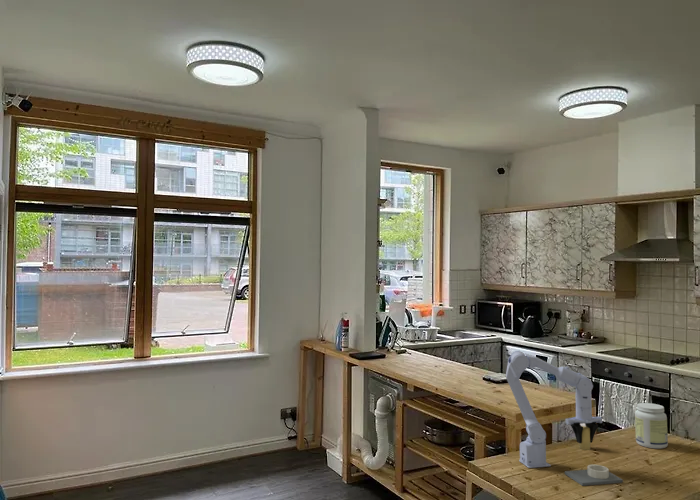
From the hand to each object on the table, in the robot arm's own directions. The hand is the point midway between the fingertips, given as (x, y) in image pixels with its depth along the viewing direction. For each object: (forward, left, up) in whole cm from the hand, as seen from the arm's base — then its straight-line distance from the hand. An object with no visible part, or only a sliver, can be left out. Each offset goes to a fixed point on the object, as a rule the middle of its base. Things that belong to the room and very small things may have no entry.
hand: (584, 442), depth 202 cm
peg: (0, 0, -2) cm, 2 cm away
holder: (-4, -11, -9) cm, 15 cm away
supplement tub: (+44, +18, -10) cm, 49 cm away
